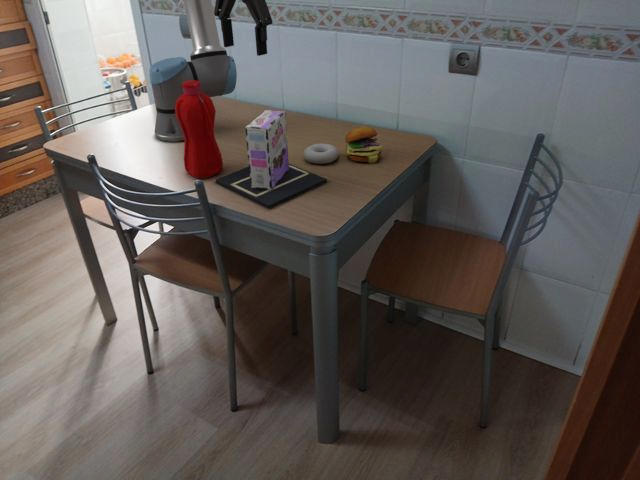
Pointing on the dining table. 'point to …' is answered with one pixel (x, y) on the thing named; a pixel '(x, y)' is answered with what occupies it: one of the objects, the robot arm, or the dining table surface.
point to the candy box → (267, 149)
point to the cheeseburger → (363, 145)
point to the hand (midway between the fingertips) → (245, 50)
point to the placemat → (284, 190)
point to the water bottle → (198, 131)
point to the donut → (321, 153)
